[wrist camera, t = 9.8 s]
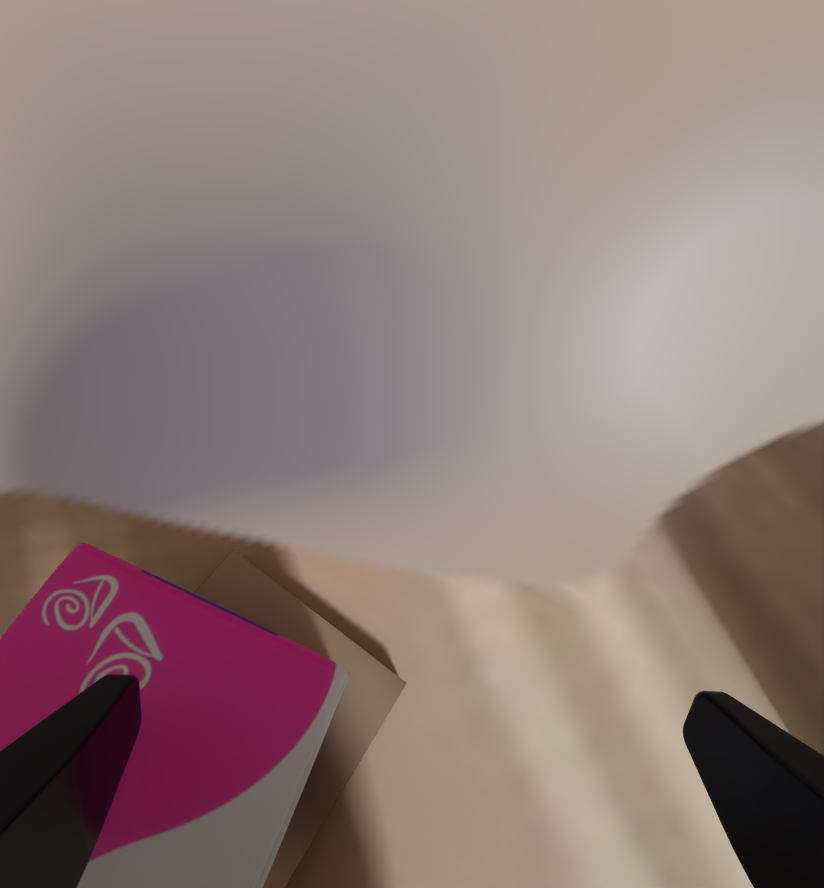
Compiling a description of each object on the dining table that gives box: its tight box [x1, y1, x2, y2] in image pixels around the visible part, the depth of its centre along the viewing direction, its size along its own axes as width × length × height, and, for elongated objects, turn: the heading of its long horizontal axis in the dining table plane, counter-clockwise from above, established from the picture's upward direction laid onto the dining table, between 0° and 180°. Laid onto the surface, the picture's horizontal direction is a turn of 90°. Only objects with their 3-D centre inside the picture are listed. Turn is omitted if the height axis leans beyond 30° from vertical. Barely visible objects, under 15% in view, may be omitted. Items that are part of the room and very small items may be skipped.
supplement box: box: [0, 543, 349, 888], centre depth 12 cm, size 6×6×12 cm
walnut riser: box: [194, 550, 406, 888], centre depth 17 cm, size 9×9×2 cm
